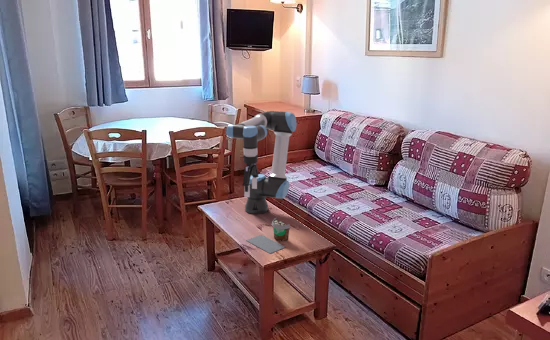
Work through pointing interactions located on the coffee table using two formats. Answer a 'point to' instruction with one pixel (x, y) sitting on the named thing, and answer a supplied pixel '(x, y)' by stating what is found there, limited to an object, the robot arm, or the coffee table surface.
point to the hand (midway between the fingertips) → (250, 192)
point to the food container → (280, 230)
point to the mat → (265, 244)
